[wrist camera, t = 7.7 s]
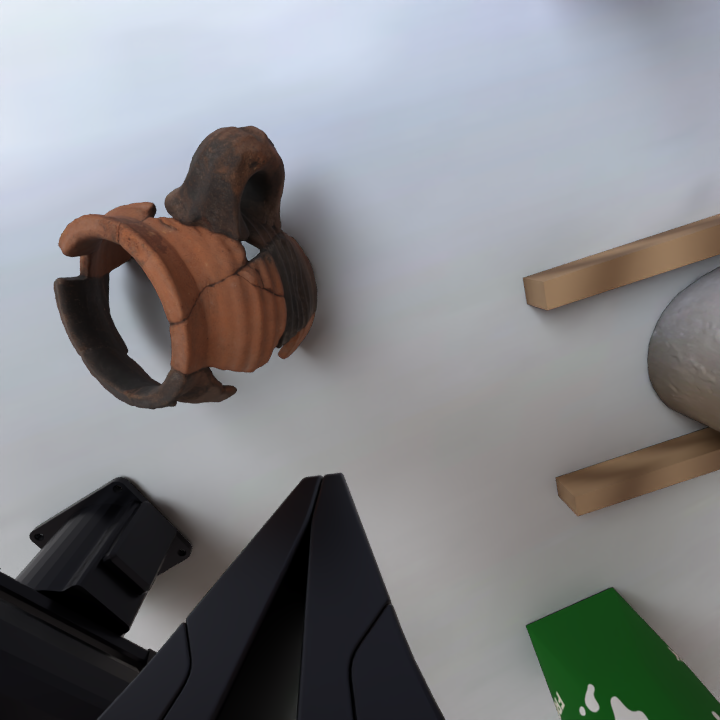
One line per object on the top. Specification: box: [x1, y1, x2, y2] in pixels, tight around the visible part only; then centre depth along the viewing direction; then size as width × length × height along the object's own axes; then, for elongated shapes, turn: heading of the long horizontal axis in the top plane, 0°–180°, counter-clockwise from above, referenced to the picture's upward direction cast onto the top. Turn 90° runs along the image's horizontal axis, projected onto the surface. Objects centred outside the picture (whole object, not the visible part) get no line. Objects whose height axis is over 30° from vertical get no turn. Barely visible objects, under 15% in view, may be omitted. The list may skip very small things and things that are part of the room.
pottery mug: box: [54, 126, 317, 409], centre depth 17 cm, size 12×10×8 cm
